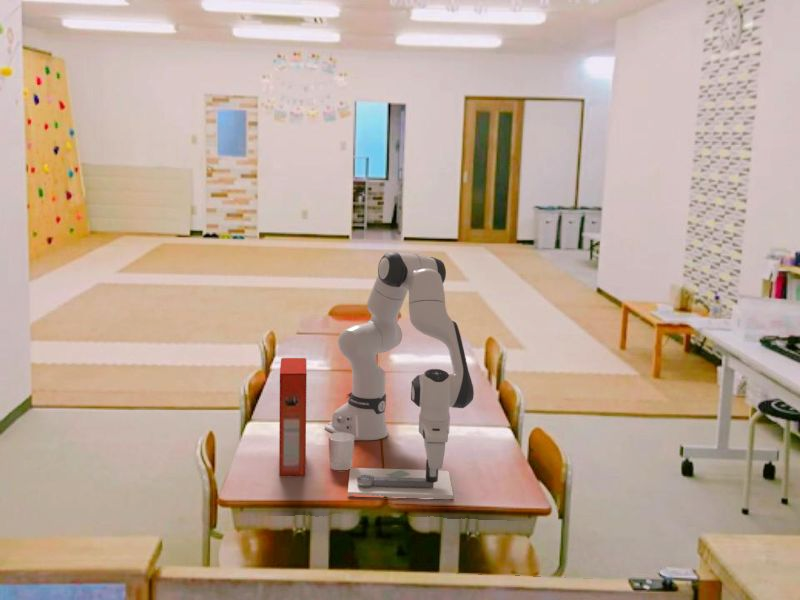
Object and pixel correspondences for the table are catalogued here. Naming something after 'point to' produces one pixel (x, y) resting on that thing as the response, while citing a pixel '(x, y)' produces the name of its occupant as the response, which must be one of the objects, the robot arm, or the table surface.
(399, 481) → the lever
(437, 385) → the robot arm
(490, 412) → the table surface
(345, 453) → the white cup
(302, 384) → the file binder
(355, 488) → the lever board
